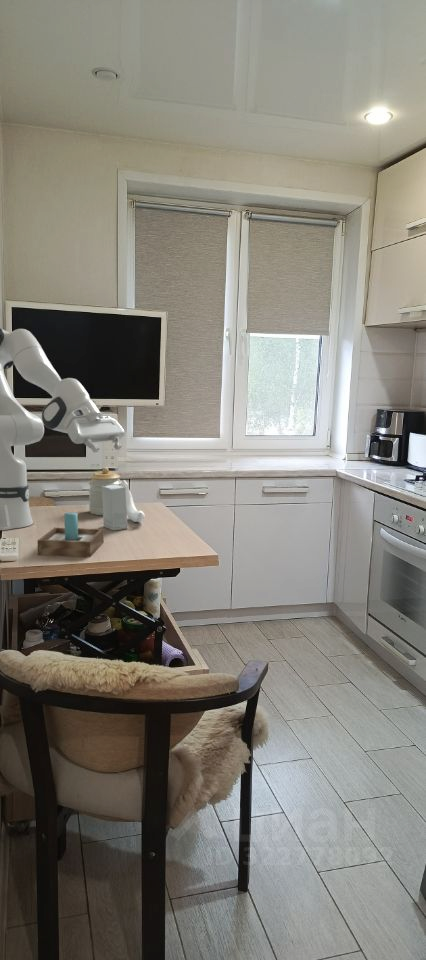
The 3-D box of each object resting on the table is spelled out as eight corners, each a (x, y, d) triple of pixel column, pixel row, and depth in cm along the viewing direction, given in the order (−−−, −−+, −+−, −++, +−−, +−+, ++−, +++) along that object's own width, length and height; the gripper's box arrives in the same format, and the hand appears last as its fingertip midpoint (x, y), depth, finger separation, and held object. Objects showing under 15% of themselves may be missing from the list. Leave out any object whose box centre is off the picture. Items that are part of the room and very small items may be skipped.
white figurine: (138, 528, 227) (137, 487, 224) (118, 517, 243) (118, 478, 241) (150, 526, 229) (150, 486, 227) (130, 515, 246) (130, 477, 243)
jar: (85, 510, 254) (84, 465, 251) (117, 507, 259) (117, 464, 256) (93, 517, 243) (92, 470, 240) (126, 514, 248) (126, 469, 245)
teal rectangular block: (63, 550, 198) (62, 515, 196) (67, 546, 202) (66, 512, 200) (76, 550, 198) (75, 515, 196) (79, 547, 202) (79, 512, 200)
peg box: (37, 554, 192) (37, 540, 192) (55, 541, 208) (54, 527, 207) (90, 556, 191) (90, 542, 191) (103, 542, 207) (103, 529, 206)
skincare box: (127, 529, 225) (127, 487, 222) (111, 531, 222) (111, 488, 219) (117, 524, 232) (116, 483, 229) (101, 526, 229) (101, 485, 226)
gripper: (107, 422, 222) (127, 453, 217) (58, 425, 206) (79, 458, 202) (115, 410, 218) (136, 441, 214) (67, 412, 203) (88, 446, 198)
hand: (108, 449), depth 208 cm, fingers open, 8 cm apart
